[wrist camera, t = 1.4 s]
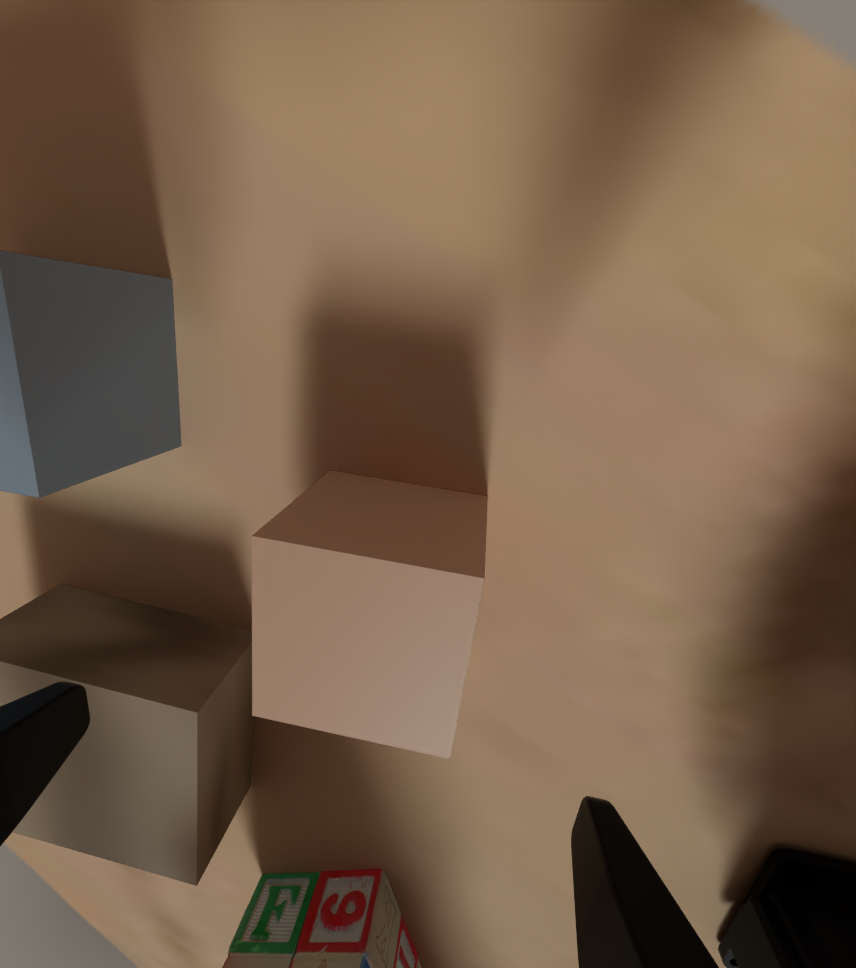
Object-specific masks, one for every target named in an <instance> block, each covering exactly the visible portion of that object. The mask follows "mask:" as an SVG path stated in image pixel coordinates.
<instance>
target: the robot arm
mask: <svg viewBox="0 0 856 968" xmlns="http://www.w3.org/2000/svg"><path fill="white" fill-rule="evenodd" d="M89 724H90V712H89V706H88V700H87V693H86V689H85V688H84V687H83V686H82V685H80V684H75V683H71V682H65V681H61V682H57V683H54V684H52V685H49V686H47V687H45V688H42V689H40V690H38V691H35V692H33V693H31V694H28V695H26V696H24V697H21V698H19V699H17V700H14V701H12V702H9V703H7V704H5V705H2V706H0V846H1V845H2V844H3V842H4V841H5V840H6V839H7V838H8V836H9V835H10V834H11V833H12V832H13V830H14V829H15V828H16V827H17V825H18V824H19V823H20V822H21V820H22V819H23V818H24V816H25V815H26V814H27V812H28V811H29V810H30V809H31V807H32V806H33V804H34V803H35V802H36V800H37V799H38V798H39V796H40V795H41V793H42V792H43V791H44V789H45V788H46V787H47V785H48V784H49V782H50V781H51V780H52V778H53V777H54V776H55V774H56V773H57V772H58V770H59V769H60V767H61V766H62V765H63V763H64V762H65V761H66V759H67V758H68V756H69V755H70V754H71V752H72V751H73V750H74V748H75V747H76V745H77V744H78V743H79V741H80V740H81V739H82V737H83V736H84V734H85V733H86V731H87V729H88V727H89ZM571 850H572V867H573V883H574V900H575V916H576V932H577V948H578V961H579V968H719V967H718V965H717V964H716V962H715V961H714V959H713V958H712V956H711V955H710V953H709V952H708V950H707V948H706V947H705V945H704V944H703V942H702V941H701V939H700V938H699V936H698V935H697V933H696V932H695V930H694V929H693V927H692V926H691V924H690V922H689V921H688V919H687V918H686V916H685V915H684V913H683V912H682V910H681V909H680V907H679V906H678V904H677V903H676V901H675V899H674V898H673V896H672V895H671V893H670V892H669V890H668V889H667V887H666V886H665V884H664V883H663V881H662V880H661V878H660V877H659V875H658V873H657V872H656V870H655V869H654V867H653V866H652V864H651V863H650V861H649V860H648V858H647V857H646V855H645V854H644V852H643V850H642V849H641V847H640V846H639V844H638V843H637V841H636V840H635V838H634V837H633V835H632V834H631V832H630V831H629V829H628V828H627V826H626V824H625V823H624V821H623V820H622V818H621V817H620V815H619V814H618V812H617V811H616V809H615V808H614V806H613V805H612V804H611V803H610V802H609V801H607V800H603V799H599V798H594V797H590V796H586V797H584V798H583V800H582V802H581V805H580V808H579V811H578V814H577V817H576V820H575V823H574V826H573V829H572V836H571ZM718 950H719V953H720V956H721V958H722V961H723V964H724V965H725V966H726V967H727V968H856V863H852V862H848V861H843V860H838V859H834V858H829V857H825V856H820V855H816V854H811V853H807V852H802V851H797V850H793V849H787V848H782V849H777V850H775V851H773V852H772V853H771V854H770V855H769V857H768V859H767V860H766V862H765V864H764V866H763V868H762V869H761V871H760V873H759V875H758V877H757V878H756V880H755V882H754V884H753V886H752V887H751V889H750V891H749V893H748V895H747V896H746V898H745V900H744V902H743V903H742V905H741V907H740V909H739V911H738V912H737V914H736V916H735V918H734V920H733V921H732V923H731V925H730V927H729V929H728V930H727V932H726V934H725V936H724V938H723V939H722V941H721V943H720V945H719V947H718Z"/></svg>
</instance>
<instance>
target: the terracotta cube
mask: <svg viewBox="0 0 856 968" xmlns="http://www.w3.org/2000/svg"><path fill="white" fill-rule="evenodd" d="M487 500H488V496H482V495H476V494H470V493H464V492H458V491H452V490H446V489H439V488H433V487H427V486H421V485H415V484H409V483H403V482H397V481H391V480H385V479H379V478H373V477H367V476H361V475H355V474H349V473H343V472H337V471H331V470H330V471H329V472H327V473H326V474H325V475H324V476H323V477H321V478H320V479H319V480H318V481H317V482H316V483H314V484H313V485H312V486H311V487H310V488H308V489H307V490H306V491H305V492H304V493H302V494H301V495H300V496H299V497H298V498H296V499H295V500H294V501H293V502H292V503H291V504H289V505H288V506H287V507H286V508H285V509H283V510H282V511H281V512H280V513H279V514H277V515H276V516H275V517H274V518H273V519H271V520H270V521H269V522H268V523H267V524H265V525H264V526H263V527H262V528H261V529H260V530H258V531H257V532H256V533H255V534H254V535H252V716H256V717H260V718H265V719H270V720H274V721H279V722H283V723H288V724H292V725H297V726H301V727H306V728H311V729H315V730H320V731H324V732H329V733H333V734H338V735H342V736H347V737H352V738H356V739H361V740H365V741H370V742H374V743H379V744H384V745H388V746H393V747H397V748H402V749H406V750H411V751H415V752H420V753H425V754H429V755H434V756H438V757H443V758H447V759H450V755H451V750H452V745H453V740H454V735H455V729H456V724H457V719H458V714H459V709H460V703H461V698H462V693H463V688H464V682H465V677H466V672H467V667H468V662H469V656H470V651H471V646H472V641H473V636H474V630H475V625H476V620H477V615H478V609H479V604H480V599H481V594H482V589H483V583H484V577H485V551H486V526H487Z"/></svg>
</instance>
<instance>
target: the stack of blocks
mask: <svg viewBox="0 0 856 968" xmlns="http://www.w3.org/2000/svg"><path fill="white" fill-rule="evenodd" d="M222 968H422V967H421V965H420V963H419V960H418V954H417V952H416V949H415V947H414V944H413V942H412V939H411V937H410V935H409V932H408V930H407V927H406V925H405V922H404V920H403V917H402V915H401V912H400V909H399V906H398V904H397V901H396V899H395V896H394V894H393V891H392V889H391V886H390V884H389V882H388V879H387V877H386V874H385V872H384V871H383V869H368V870H343V871H322V872H313V873H284V874H262V876H261V878H260V880H259V882H258V885H257V887H256V889H255V891H254V893H253V896H252V898H251V900H250V902H249V905H248V907H247V909H246V911H245V913H244V915H243V917H242V920H241V922H240V924H239V927H238V929H237V931H236V934H235V936H234V938H233V940H232V942H231V945H230V948H229V951H228V958H227V959H226V961H225V963H224V965H223V967H222Z"/></svg>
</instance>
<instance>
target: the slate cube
mask: <svg viewBox="0 0 856 968" xmlns="http://www.w3.org/2000/svg"><path fill="white" fill-rule="evenodd" d="M180 446H181V430H180V412H179V393H178V375H177V357H176V339H175V321H174V303H173V285H172V279H168V278H162V277H156V276H150V275H144V274H138V273H132V272H126V271H120V270H114V269H108V268H102V267H96V266H90V265H84V264H78V263H72V262H66V261H60V260H54V259H48V258H42V257H36V256H30V255H24V254H18V253H12V252H6V251H0V491H4V492H10V493H16V494H21V495H27V496H32V497H38V498H40V497H43V496H46V495H48V494H51V493H54V492H57V491H59V490H62V489H65V488H68V487H70V486H73V485H76V484H79V483H81V482H84V481H87V480H90V479H92V478H95V477H98V476H101V475H103V474H106V473H109V472H112V471H114V470H117V469H120V468H123V467H125V466H128V465H131V464H134V463H136V462H139V461H142V460H145V459H147V458H150V457H153V456H156V455H158V454H161V453H164V452H167V451H169V450H172V449H175V448H178V447H180Z"/></svg>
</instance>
